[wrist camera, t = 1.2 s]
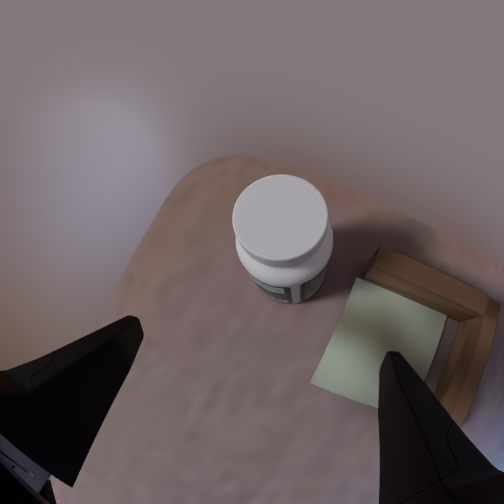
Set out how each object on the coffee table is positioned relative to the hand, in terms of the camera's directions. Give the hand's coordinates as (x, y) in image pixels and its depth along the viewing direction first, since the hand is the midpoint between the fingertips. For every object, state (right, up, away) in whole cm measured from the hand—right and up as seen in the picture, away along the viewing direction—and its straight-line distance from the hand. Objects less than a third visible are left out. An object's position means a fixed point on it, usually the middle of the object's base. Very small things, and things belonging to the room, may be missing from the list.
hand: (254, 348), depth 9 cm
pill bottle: (+3, +2, +14) cm, 14 cm away
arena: (+12, -5, +9) cm, 16 cm away
